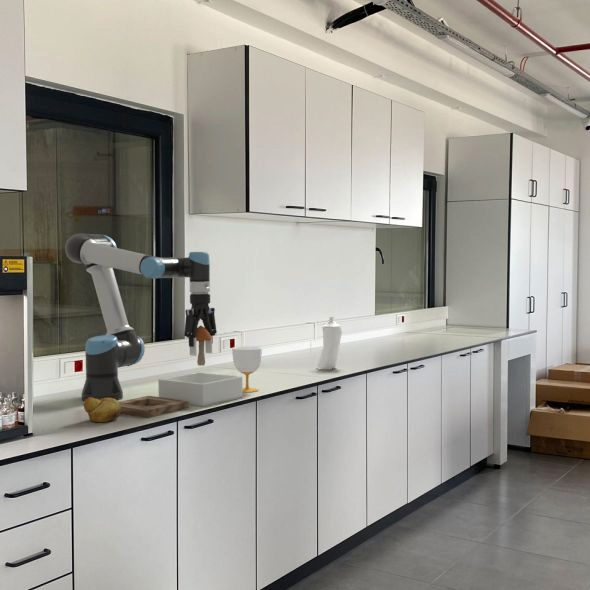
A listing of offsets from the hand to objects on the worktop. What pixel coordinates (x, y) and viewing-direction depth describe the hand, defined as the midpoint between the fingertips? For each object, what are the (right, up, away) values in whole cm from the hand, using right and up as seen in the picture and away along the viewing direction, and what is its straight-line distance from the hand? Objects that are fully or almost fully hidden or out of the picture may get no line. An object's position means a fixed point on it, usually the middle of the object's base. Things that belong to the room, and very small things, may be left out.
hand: (201, 354), depth 281 cm
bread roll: (-27, -19, -35) cm, 48 cm away
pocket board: (-16, -18, -19) cm, 31 cm away
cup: (+16, -16, +20) cm, 30 cm away
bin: (0, -17, +1) cm, 17 cm away
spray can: (+52, -14, +84) cm, 99 cm away
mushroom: (0, -4, 0) cm, 4 cm away
